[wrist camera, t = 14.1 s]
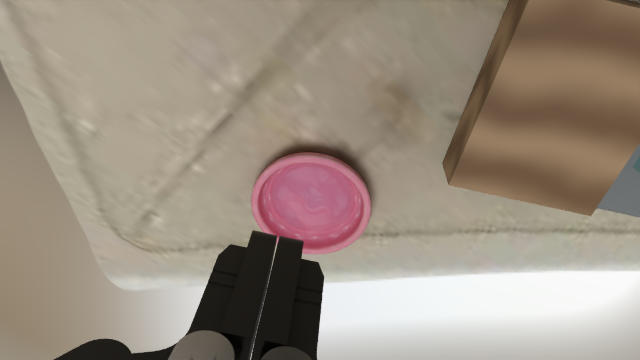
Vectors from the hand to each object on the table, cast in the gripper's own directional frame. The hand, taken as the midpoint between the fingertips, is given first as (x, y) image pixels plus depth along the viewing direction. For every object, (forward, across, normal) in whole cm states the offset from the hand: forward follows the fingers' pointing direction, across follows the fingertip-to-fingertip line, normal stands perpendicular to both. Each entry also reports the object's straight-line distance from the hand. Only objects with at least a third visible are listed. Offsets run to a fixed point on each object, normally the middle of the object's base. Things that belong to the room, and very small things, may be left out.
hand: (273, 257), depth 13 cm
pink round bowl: (+31, -2, +19) cm, 37 cm away
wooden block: (+31, -21, +3) cm, 38 cm away
